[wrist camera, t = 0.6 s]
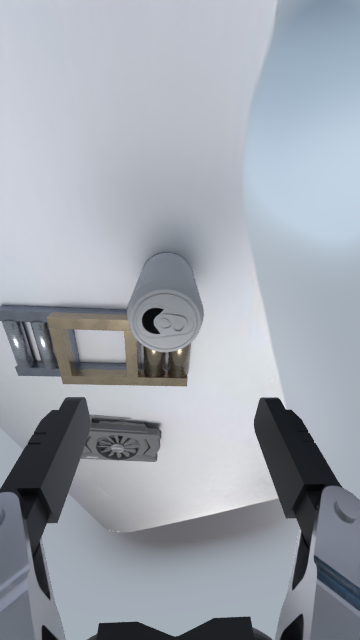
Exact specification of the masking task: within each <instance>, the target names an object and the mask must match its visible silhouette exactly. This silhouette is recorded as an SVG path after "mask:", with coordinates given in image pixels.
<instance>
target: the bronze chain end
mask: <svg viewBox="0 0 360 640" xmlns="http://www.w3.org/2000/svg"><path fill="white" fill-rule="evenodd" d="M47 322H48V326H49V330H50V334H51V338H52V342H53V346H54V350H55V354H56V358H57V362H58V366H59V370H60V374H61V378H62V382H63V384H93V385H146V386H187V374H188V368H189V358H190V347H191V343H190V344H189V345H187V346H186V347H184V348H182V349H180V350H177V351H173V352H169V358H168V371H165V352H158V351H154V350H151V349H149V348H147V347H145V346H144V370H139V345H138V340H137V339H136V338H135V337H134V335H133V333H132V331H131V328H130V324H129V322H128V317H127V315H116V314H88V313H60V312H52V313H51V314H50V315H49V316H48V317H47ZM68 329H79V330H111V331H124V337H125V351H126V365H127V370H101V369H76V366H75V361H74V356H73V351H72V346H71V341H70V336H69V331H68Z"/></svg>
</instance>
